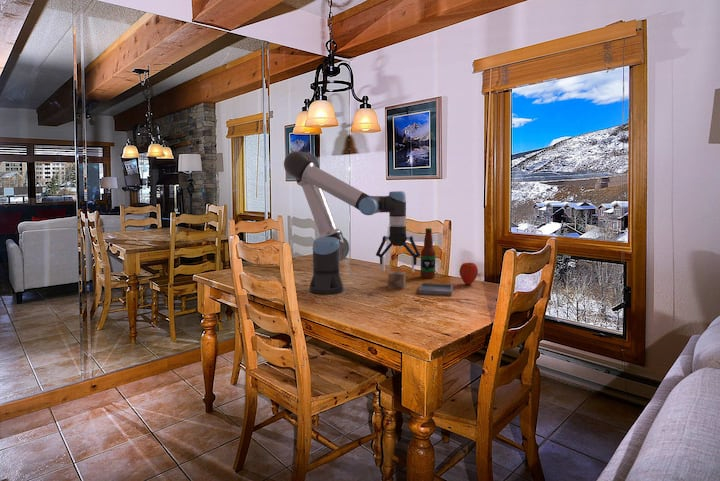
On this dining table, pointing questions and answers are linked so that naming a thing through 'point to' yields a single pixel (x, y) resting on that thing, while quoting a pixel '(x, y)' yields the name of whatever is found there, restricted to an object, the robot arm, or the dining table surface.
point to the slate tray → (436, 289)
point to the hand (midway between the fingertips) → (398, 271)
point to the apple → (468, 272)
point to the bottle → (428, 256)
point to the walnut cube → (396, 280)
